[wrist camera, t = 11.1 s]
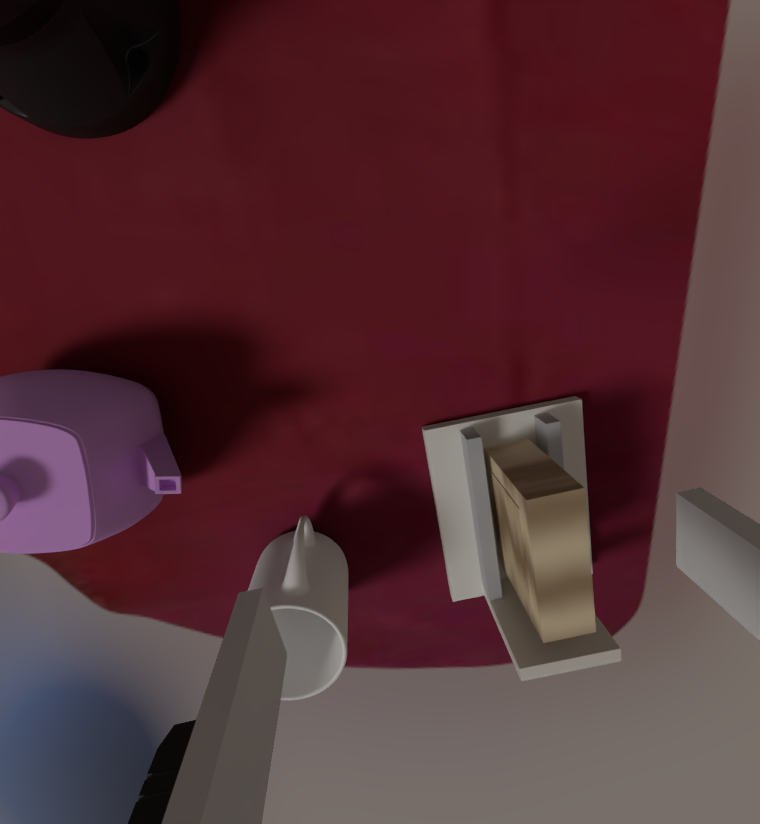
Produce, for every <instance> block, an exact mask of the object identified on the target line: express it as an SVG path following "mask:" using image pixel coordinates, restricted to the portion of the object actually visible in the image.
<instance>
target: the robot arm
mask: <svg viewBox="0 0 760 824" xmlns="http://www.w3.org/2000/svg"><path fill="white" fill-rule="evenodd" d="M179 42H180V20H179V10H178V4H177V0H0V107H2V108H3V109H5V110H6V111H8V112H10V113H11V114H13V115H15V116H17V117H19V118H21V119H23V120H25V121H27V122H29V123H31V124H33V125H35V126H37V127H39V128H41V129H44V130H46V131H49V132H52V133H55V134H58V135H62V136H67V137H73V138H99V137H106V136H110V135H113V134H116V133H119V132H122V131H124V130H126V129H128V128H130V127H132V126H133V125H135V124H136V123H138V122H139V121H141V120H142V119H143V118H144V117H146V116H147V115H148V114H149V113H150V112H151V111H152V110H153V108H154V107H155V106H156V105H157V104H158V102H159V101H160V99H161V98H162V96H163V95H164V93H165V91H166V89H167V87H168V85H169V83H170V81H171V78H172V76H173V73H174V70H175V66H176V62H177V58H178V51H179ZM676 495H677V496H676V497H677V498H676V500H677V501H676V505H677V508H676V509H677V512H676V515H677V516H676V522H677V523H676V529H677V530H676V538H677V539H676V566H677V567H678V568H679V569H681V570H682V571H683V572H684V573H685V574H686V575H687V576H688V577H689V578H691V579H692V580H693V581H694V582H695V583H696V584H698V586H699V587H701V588H702V589H703V590H704V591H705V592H706V593H707V594H708V595H709V596H711V597H712V598H713V599H714V600H715V601H716V602H717V603H718V604H720V605H721V606H722V607H723V608H724V609H725V610H726V611H727V612H728V613H729V614H731V615H732V616H733V617H734V618H735V619H736V620H737V621H738V622H739V623H741V624H742V625H743V626H744V627H745V628H746V629H747V630H748V631H749V632H750V633H752V634H753V635H754V636H755V637H756V638H757V639H758V640H759V641H760V524H759V523H757V522H755V521H754V520H752V519H751V518H749V517H747V516H745V515H744V514H742V513H740V512H739V511H738V510H736V509H734V508H732V507H731V506H730V505H728V504H726V503H725V502H723V501H721V500H720V499H718V498H717V497H715V496H713V495H712V494H710V493H709V492H707V491H705V490H704V489H702V488H697V489H692V490H688V491H684V492H679V493H677V494H676ZM286 661H287V652H286V649H285V646H284V644H283V641H282V638H281V636H280V633H279V630H278V627H277V625H276V622H275V619H274V617H273V614H272V611H271V608H270V606H269V603H268V600H267V598H266V595H265V592H264V589H263V588H258V589H254V590H250V591H245V592H241V593H238V596H237V599H236V602H235V605H234V608H233V611H232V614H231V617H230V620H229V623H228V626H227V629H226V632H225V635H224V638H223V641H222V644H221V647H220V650H219V653H218V656H217V659H216V662H215V665H214V668H213V671H212V674H211V677H210V680H209V684H208V686H207V689H206V692H205V695H204V698H203V701H202V704H201V707H200V710H199V713H198V716H197V719H196V720H194V721H189V722H185V723H181V724H176V725H174V726H173V728H172V729H171V730H170V732H169V733H168V735H167V736H166V738H165V739H164V740H163V742H162V743H161V744H160V746H159V747H158V749H157V751H156V754H155V756H154V759H153V761H152V764H151V766H150V769H149V771H148V774H147V780H145V781H144V784H143V786H142V789H141V792H140V794H139V801H138V802H136V804H135V807H134V809H133V812H132V814H131V817H130V819H129V822H128V824H261V823H262V817H263V810H264V803H265V797H266V791H267V784H268V778H269V771H270V765H271V758H272V752H273V745H274V739H275V732H276V726H277V719H278V713H279V706H280V700H281V693H282V687H283V680H284V674H285V667H286Z"/></svg>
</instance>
